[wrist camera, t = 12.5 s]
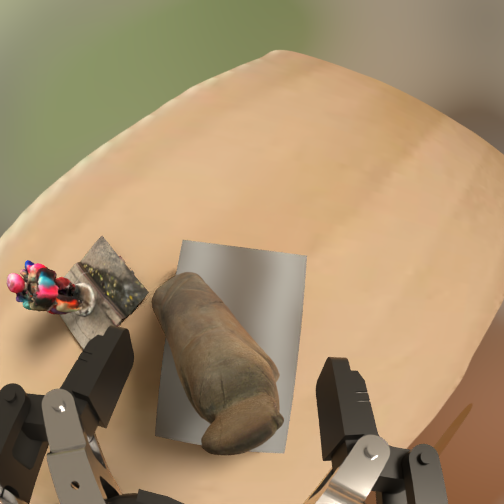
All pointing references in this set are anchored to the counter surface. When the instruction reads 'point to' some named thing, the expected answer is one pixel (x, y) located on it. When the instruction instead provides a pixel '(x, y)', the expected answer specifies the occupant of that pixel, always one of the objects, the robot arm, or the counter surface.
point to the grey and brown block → (253, 321)
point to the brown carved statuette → (219, 366)
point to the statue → (82, 291)
